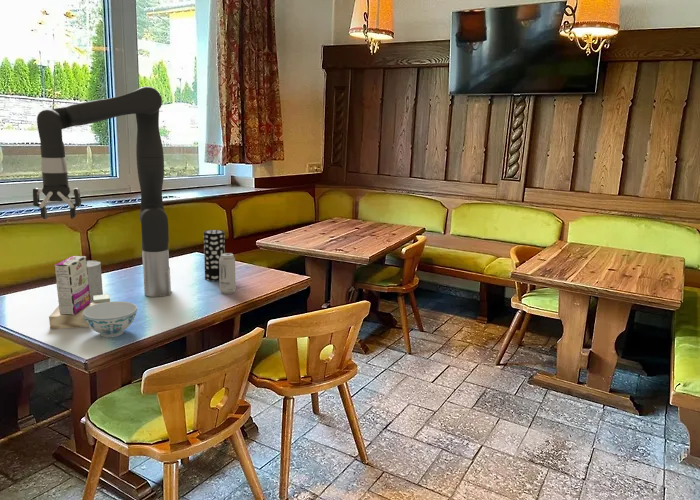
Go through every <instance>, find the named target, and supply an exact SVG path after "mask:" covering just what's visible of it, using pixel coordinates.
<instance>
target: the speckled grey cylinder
mask: <svg viewBox="0 0 700 500" xmlns="http://www.w3.org/2000/svg"><path fill="white" fill-rule="evenodd" d="M86 261H87V271H88V281H89V292H90V301H91V299H92V300H93V296H95V295H104V291H103V279H102V278H103V277H102V276H103V275H102V266H101V265H102V264H101V261H98V260H91V259H90V260H88V259H87V260H86Z"/></svg>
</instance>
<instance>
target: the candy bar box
mask: <svg viewBox="0 0 700 500" xmlns="http://www.w3.org/2000/svg"><path fill="white" fill-rule="evenodd" d="M87 261H88V260H87V256H85V255H72V256H70V257H67V258H66V259H64V260H62V261H59V262H58V263H56V264H54V275H55V282H56V283H55V284H56V290H57V299H58V300H57V302H58V306H59V310H60V314H61V315H75V314H77V313H78V312H79V311H81V310H82V309H84V308H85V307H86V306H88V305H89V304H90V303H92V302H91V300H90V292H89V281H88V271H87Z"/></svg>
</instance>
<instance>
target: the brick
mask: <svg viewBox="0 0 700 500" xmlns="http://www.w3.org/2000/svg"><path fill="white" fill-rule="evenodd" d="M110 296H111V295H110V293H108V294H107V293H106V294H103V295H95V296H93V299H92V300H93V303H98V302H100V303H105V302H111V298H110Z"/></svg>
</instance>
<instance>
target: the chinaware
mask: <svg viewBox="0 0 700 500" xmlns="http://www.w3.org/2000/svg"><path fill="white" fill-rule="evenodd" d="M137 310H138V307H137V305H136V304H135V303H132V302H129V301H110V302H105V303H100V304H96V305H93V306H90V307H88V308H86V309H85V310H84V311H83V315H84V318H85V320H86V322H87V324H88V325H89V326H90V327H89V328H91V330H93V331H94V332H97V333H99V335H100V336H101V337H103V338H116V337H119V336H121V335H123V334H124V333H125V330H127V329H128V328H129V327H130V326H131V325H132V324H133V321H134V320H135V318H136V316H137Z"/></svg>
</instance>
